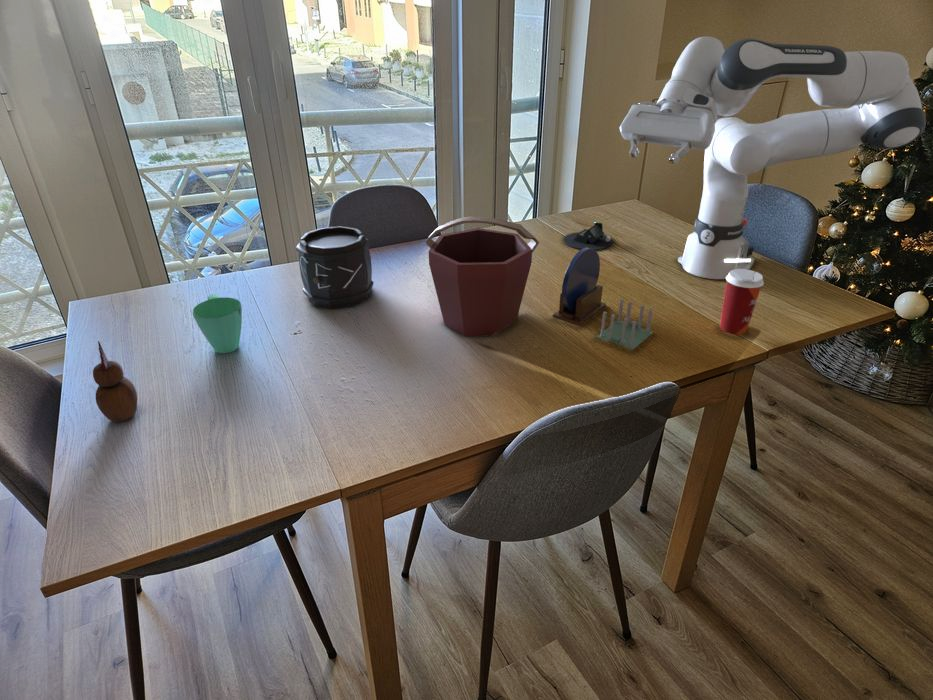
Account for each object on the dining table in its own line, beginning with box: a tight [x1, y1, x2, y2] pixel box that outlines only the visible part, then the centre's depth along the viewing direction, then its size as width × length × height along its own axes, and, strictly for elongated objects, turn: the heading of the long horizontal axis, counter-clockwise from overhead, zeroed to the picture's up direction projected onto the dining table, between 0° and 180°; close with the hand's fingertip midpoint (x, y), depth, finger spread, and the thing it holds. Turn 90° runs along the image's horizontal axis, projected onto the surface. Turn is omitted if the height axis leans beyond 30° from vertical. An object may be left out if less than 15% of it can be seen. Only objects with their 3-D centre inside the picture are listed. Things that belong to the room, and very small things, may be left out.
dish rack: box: [595, 298, 654, 350], centre depth 135 cm, size 10×9×7 cm
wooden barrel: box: [295, 225, 374, 310], centre depth 154 cm, size 18×18×16 cm
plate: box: [561, 248, 601, 311], centre depth 143 cm, size 15×1×15 cm, turn 140°
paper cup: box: [719, 269, 765, 335], centre depth 136 cm, size 8×8×14 cm
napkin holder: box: [552, 284, 607, 326], centre depth 145 cm, size 13×7×6 cm, turn 140°
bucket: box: [425, 215, 540, 337], centre depth 138 cm, size 24×22×25 cm
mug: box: [192, 293, 243, 354], centre depth 134 cm, size 15×10×10 cm
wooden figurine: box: [92, 340, 138, 423], centre depth 110 cm, size 7×6×15 cm
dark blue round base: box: [563, 221, 614, 251], centre depth 188 cm, size 15×15×6 cm
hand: (651, 159), depth 134 cm, fingers open, 8 cm apart
